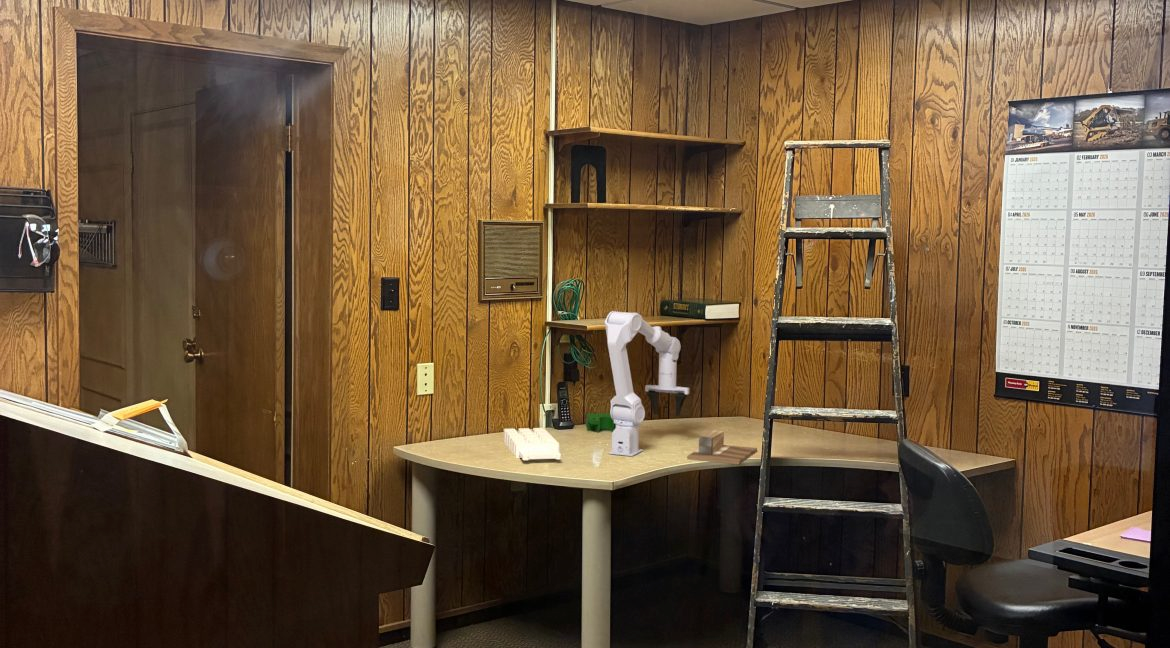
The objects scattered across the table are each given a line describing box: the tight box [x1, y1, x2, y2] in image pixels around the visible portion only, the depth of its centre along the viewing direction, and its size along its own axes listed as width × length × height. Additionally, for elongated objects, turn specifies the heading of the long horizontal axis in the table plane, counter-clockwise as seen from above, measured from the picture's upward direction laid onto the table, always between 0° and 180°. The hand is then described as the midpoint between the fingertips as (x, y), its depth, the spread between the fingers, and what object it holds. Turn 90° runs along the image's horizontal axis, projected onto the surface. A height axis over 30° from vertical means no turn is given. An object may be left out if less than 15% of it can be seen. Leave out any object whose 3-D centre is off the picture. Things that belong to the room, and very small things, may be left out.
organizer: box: [503, 427, 562, 461], centre depth 316 cm, size 13×5×35 cm
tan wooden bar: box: [698, 429, 725, 454], centre depth 318 cm, size 4×14×5 cm, turn 156°
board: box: [686, 444, 758, 465], centre depth 316 cm, size 22×16×1 cm
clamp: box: [585, 412, 616, 433], centre depth 354 cm, size 12×6×9 cm, turn 98°
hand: (666, 414), depth 333 cm, fingers open, 7 cm apart
